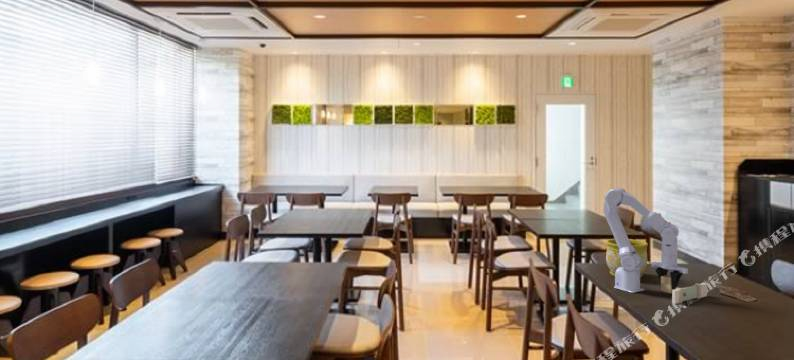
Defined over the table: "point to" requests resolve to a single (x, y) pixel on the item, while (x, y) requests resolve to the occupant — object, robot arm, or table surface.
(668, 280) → the block
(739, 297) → the wooden fragment
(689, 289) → the door
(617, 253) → the flowerpot
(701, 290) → the wall frame
